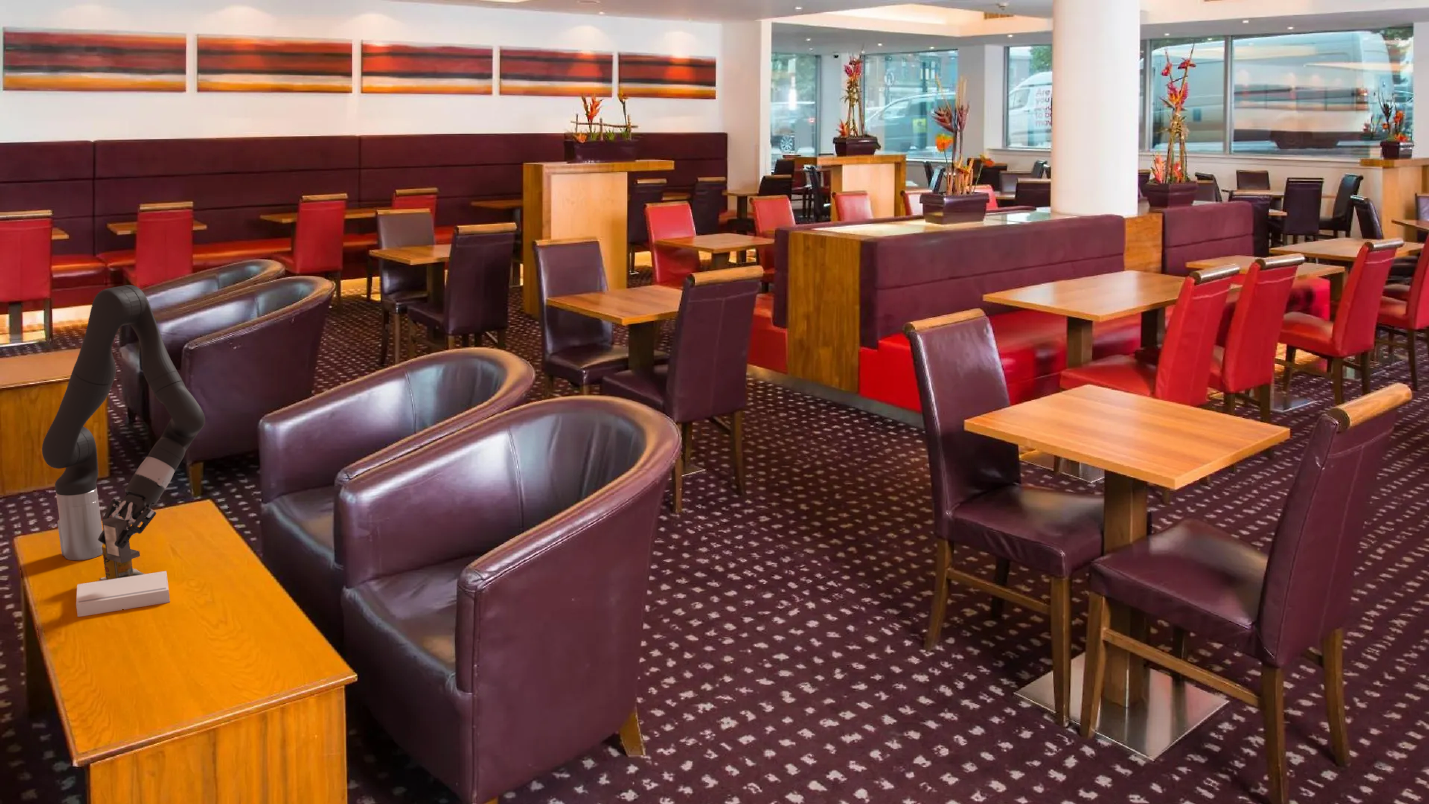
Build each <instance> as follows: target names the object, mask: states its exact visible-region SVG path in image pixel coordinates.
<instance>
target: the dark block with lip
mask: <svg viewBox="0 0 1429 804" xmlns="http://www.w3.org/2000/svg"><path fill="white" fill-rule="evenodd" d="M102 519H103V518H102ZM102 519H101V524H102V531H104V538H105V546H106V553H107V559H109V560H113V561H116V562H120V563H124V562H127V561H130V560H134V559H136V558H139V557H141V555H140V554H141V552H140V550H136V549H132V548H131V545H130V544H129V543H130V540H129V541H128V542H127V544H126V545H125V546H124V548H123V549H121V548H119V547H117V546H115V542H116V540H117V538H118V537H119V536H120V534H121V532H122V531H123V530H124V528H125V525H126V524H127V521H126V520H122V519H118V518H114V517H112V516H109V518H107V519H103V520H102ZM124 531H125V530H124Z"/></svg>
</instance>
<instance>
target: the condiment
mask: <svg viewBox="0 0 1429 804" xmlns="http://www.w3.org/2000/svg"><path fill="white" fill-rule="evenodd" d="M129 544H130V542H129ZM102 551H103V554H102V557H103V565H104V573H105V576H104V577H100V578H99V579H100V580H101V581H104V580H110V579H117V578H123V577H130V576H137V575H143V574H145V573H144V572H141V571H140V570H138V569H137V568H133V561H132V560H133V559H132V560H130V561H127V562H124V563H120V562H116V561H113V560H109V559H107V553H106V546H105V544H102Z"/></svg>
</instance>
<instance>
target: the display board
mask: <svg viewBox="0 0 1429 804" xmlns="http://www.w3.org/2000/svg"><path fill="white" fill-rule="evenodd" d="M75 601H76V602H75V607H76V613H77V617H80V618H81V617H87V616H91V615H98V614H104V613H110V612H111V613H112V612H116V611H123V610H122V609H124V610H129V609H135V608H141V607H147V606H154V605H160V604H167V603H170V602H171V599H170V590H169V582H168V574H167V570H164V571H163V570H162V571H157V572H152V573H151V572H150V573H144V574H143V575H137V576H130V577H123V578H117V579H110V580H104V581H103V580H97V581H92V582H91V581H90V582H86V583H85V582H83V583H77V586H76V600H75Z"/></svg>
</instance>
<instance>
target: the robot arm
mask: <svg viewBox="0 0 1429 804" xmlns="http://www.w3.org/2000/svg"><path fill="white" fill-rule="evenodd" d="M90 307H91V308H90V311H89V317H88V322H87V326H86V329H85V330H86V331H85V334H84V338H83V341H82V344H81V347H80V350H79V354H78V355H77V360H75V363H74V366H73V368H72V371H71V374H70V378H69V379H68V384H67V387H66V389H65V392H64V395H63V398H62V399H61V402H60V405H59V408H58V410H57V412H56V415H55V417H54V419H53V421H52V422H51V425H50V426H49V428H48V430H47V432H46V434H45V437H44V438H43V440H42V445H41V453H42V458H43V459H44V461H45V463H46V464H47V465H48V467H50V468H53V469H64V471H63V473H62V474H61V475H60V476H59V478H57V479H56V480H55V482H54V490H55V495H56V502H57V503H56V504H57V511H58V518H59V519H58V520H57V528H58V529H57V530H58V536H59V542H60V551H61V556H64V558H65V559H67V560H69V561H83V560H89V559H94V558H97V557H99V556H102V555H103V551H102V544H105V538H104V531H103V524H102V520H103V519H107V518H110V517H114V518H118V519H122V520H126V521H127V524H126V525H125V528H124V530H125V531H124V530H123V531H122V532H121V534H120V536H119V537H118V538H117V540H116V542H115V546H117V547H119V548H121V549H123V548H124V546H125V545H126V544H127V542H128V541H129V542H130V539H131V538H132V536H135V534H138V535H139V534H142V533H143V531H144V530H145V529H146V528H147V526H148V525H149V524H150V523H151V521H152V520H153V519H154V518H155V517H156V515H157V512H156V511H155V510H154V509H152V508H151V506H155V505H157V503H158V501H159V500H160V498H161V497H162V495H163V494H164V492H165V491H166V489H167V487H168V486H169V484H170V482H171V480H172V478H173V477H174V473H175V472H176V470H177V468H178V467H179V465H180V464H181V462H182V460H183V459H184V457H185V455H186V451H187V450H188V448H190V446H191V444H192V443H193V442H194V440H195V438H196V437H197V435H198V434H199V433H200V432H201V431H202V429H203V428H204V426H205V424H206V417H205V413H204V411H203V409H202V407H201V405H199V402H197V400H196V399H195V397H194V396H193V394H192V393H191V392H190V391H189V390H188V389H187V387H186V385H185V382H184V381H183V378H182V377H181V375H180V374H179V372H178V370H177V369H176V366H175V365H174V363H173V361H172V360H171V357H170V354H169V353H168V350H167V348H166V346H165V343H164V340H163V337H162V334H161V331H160V329H159V326H158V323H157V321H156V317H155V315H154V313H153V310H152V307H151V304H150V302H149V300H148V298H147V296H146V294H145V293H144V291H143V290H141V288H139V287H138V286H136V285H133V284H132V285H131V284H127V285H125V284H124V285H120V286H113V287H110V288H109V287H108V288H104V289H102V290H100V291H99V292H98V293H97V294H96V295H95V297H94V299H93V301H92V304H91V306H90ZM126 325H129V326H130V327H131V328H132V329H133V331H134V333H135V334H136V336H137V338H138V340H139V345H140V352H141V368H142V373H143V376H144V378H145V380H146V382H147V384H148V385H149V387H150V389H151V391H152V392H153V394H154V396H155V398H156V400H157V401H158V402H159V403H160V404H163V405H164V408H165V409H166V411H167V412H168V414H169V415H170V417H171V418H170V419H169V421H168V423H167V425H166V427H165V428H164V430H163V432H162V434H161V436H160V438H158V440H157V441H156V442H155V444H154V445H153V447H152V448H151V450H150V451H149V453H148V455H147V456H146V457H145V459H144V460H143V461H142V462H141V463H140V465H139V466H138V468H137V469H136V471H135V473H134V474H133V475H132V477H131V479H130V481H128V484H127V485H126V486H125V489H124V491H125V493H126V494H125V496H124V497H123V498H122V499H121V500H118V499H116V498H113V499H111V501H110V503H109V505H108V507H107V509H106V511H105V513H104V515H103V517H101V507H100V502H99V495H98V488H97V487H98V486H97V481H98V477H99V464H98V463H99V462H98V461H99V460H98V452H97V451H98V447H97V444H96V440H95V437H94V436H93V433H92V432H91V430H90V429H88V428H87V427H85V425H86V423H87V422H88V420H89V419H90V418H91V417H92V416H93V415H94V414H95V413H96V411H97V410H98V409H99V408H100V407H101V406H102V405H103V404H104V402H105V400H106V399H107V397H108V396H109V394H110V392H111V390H112V386H113V383H114V381H115V378H116V375H117V373H116V372H117V365H116V361H115V357H114V355H113V354H114V353H113V351H112V350H113V344H114V341H115V338H116V335H117V333H118V332H119V329H120V328H121V327H123V326H126ZM141 523H142V524H141Z"/></svg>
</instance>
